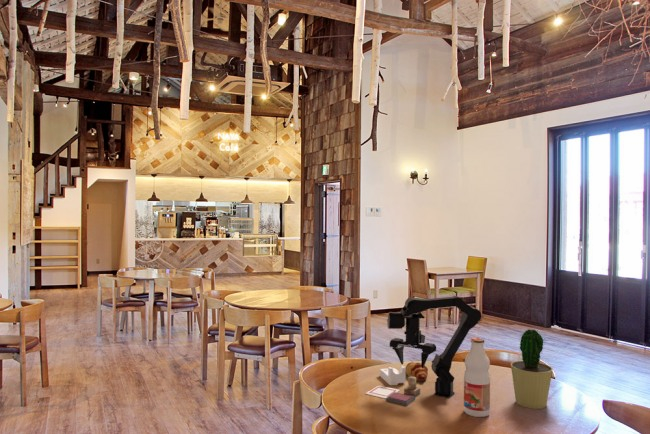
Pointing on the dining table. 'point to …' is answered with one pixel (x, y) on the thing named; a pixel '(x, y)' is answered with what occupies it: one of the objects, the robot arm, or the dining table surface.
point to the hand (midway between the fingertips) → (412, 366)
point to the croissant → (416, 371)
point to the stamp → (412, 387)
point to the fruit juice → (477, 380)
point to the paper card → (382, 391)
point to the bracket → (393, 375)
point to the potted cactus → (531, 373)
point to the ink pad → (400, 398)
